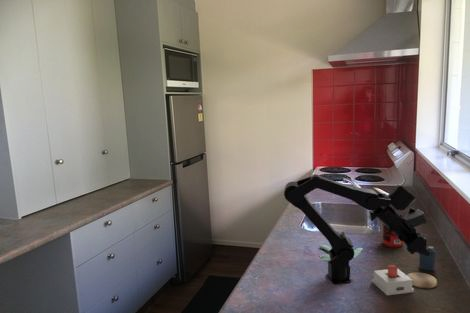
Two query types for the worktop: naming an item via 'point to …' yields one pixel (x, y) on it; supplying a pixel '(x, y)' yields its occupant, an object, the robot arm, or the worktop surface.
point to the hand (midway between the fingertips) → (426, 252)
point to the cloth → (327, 248)
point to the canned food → (390, 238)
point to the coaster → (422, 280)
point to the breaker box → (392, 282)
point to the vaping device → (427, 259)
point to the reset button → (392, 271)
